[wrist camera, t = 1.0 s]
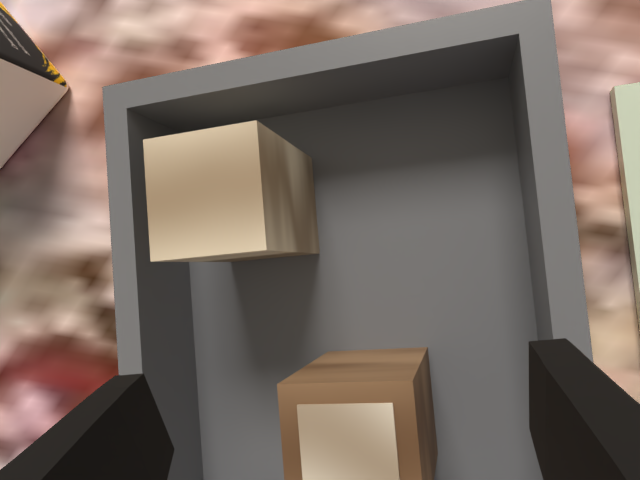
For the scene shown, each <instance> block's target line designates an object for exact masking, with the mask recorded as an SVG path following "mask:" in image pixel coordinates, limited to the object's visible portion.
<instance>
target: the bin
mask: <svg viewBox="0 0 640 480" xmlns="http://www.w3.org/2000/svg"><path fill="white" fill-rule="evenodd" d="M102 88H103V106H104V123H105V141H106V158H107V176H108V193H109V211H110V228H111V246H112V263H113V281H114V298H115V316H116V333H117V351H118V368H119V375H130V374H142V373H144V375H145V378H146V380H147V383H148V385H149V388H150V390H151V392H152V395H153V397H154V400H155V402H156V405H157V407H158V410H159V412H160V414H161V417H162V419H163V422H164V424H165V427H166V429H167V432H168V434H169V437H170V439H171V441H172V444H173V446H174V449H175V450H174V454H173V458H172V462H171V466H170V470H169V474H168V478H167V480H284V469H283V456H282V443H281V430H280V417H279V404H278V391H277V384H278V383H280V382H281V381H283V380H284V379H286V378H288V377H289V376H291V375H292V374H294V373H295V372H297V371H298V370H300V369H302V368H303V367H305V366H306V365H308V364H309V363H311V362H312V361H314V360H316V359H317V358H319V357H320V356H322V355H323V354H325V353H326V352H329V351H352V350H374V349H397V348H419V347H428V355H429V366H430V376H431V387H432V397H433V407H434V418H435V428H436V438H437V449H438V455H437V462H436V469H435V476H434V480H543V477H542V473H541V470H540V466H539V463H538V459H537V456H536V452H535V448H534V444H533V441H532V437H531V433H530V429H529V341H538V340H550V339H562V338H566V339H567V340H569V341H570V342H571V343H572V344H573V345H575V346H576V347H577V348H578V349H579V350H580V351H581V352H582V353H583V354H584V355H585V356H586V357H588V358H589V359H590V360H591V361H592V362H593V356H592V347H591V339H590V330H589V322H588V313H587V305H586V296H585V288H584V279H583V271H582V262H581V254H580V245H579V237H578V228H577V220H576V211H575V202H574V194H573V185H572V177H571V168H570V160H569V151H568V143H567V134H566V126H565V117H564V109H563V100H562V92H561V83H560V75H559V66H558V57H557V49H556V40H555V32H554V23H553V15H552V6H551V0H524V1H519V2H514V3H509V4H505V5H500V6H495V7H490V8H485V9H480V10H475V11H470V12H466V13H461V14H456V15H451V16H446V17H441V18H436V19H431V20H426V21H422V22H417V23H412V24H407V25H402V26H397V27H392V28H387V29H383V30H378V31H373V32H368V33H363V34H358V35H353V36H348V37H344V38H339V39H334V40H329V41H324V42H319V43H314V44H309V45H305V46H300V47H295V48H290V49H285V50H280V51H275V52H270V53H265V54H261V55H256V56H251V57H246V58H241V59H236V60H231V61H226V62H222V63H217V64H212V65H207V66H202V67H197V68H192V69H187V70H183V71H178V72H173V73H168V74H163V75H158V76H153V77H148V78H144V79H139V80H134V81H129V82H124V83H119V84H114V85H109V86H104V87H102ZM255 120H257V121H258V122H260V123H261V124H263V125H264V126H266V127H267V128H269V129H270V130H272V131H273V132H274V133H276V134H277V135H279V136H280V137H282V138H283V139H285V140H286V141H288V142H289V143H291V144H292V145H293V146H295V147H296V148H298V149H299V150H301V151H302V152H304V153H305V154H307V155H308V156H310V157H311V158H312V167H313V179H314V191H315V203H316V215H317V227H318V239H319V251H320V254H310V255H299V256H289V257H278V258H268V259H258V260H247V261H237V262H151V261H150V245H149V229H148V213H147V197H146V181H145V164H144V148H143V140H144V139H150V138H155V137H161V136H167V135H173V134H179V133H185V132H191V131H197V130H202V129H208V128H214V127H220V126H226V125H232V124H238V123H244V122H249V121H255Z"/></svg>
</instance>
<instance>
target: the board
mask: <svg viewBox="0 0 640 480" xmlns="http://www.w3.org/2000/svg"><path fill="white" fill-rule="evenodd" d="M610 97H611V106H612V114H613V122H614V130H615V138H616V146H617V154H618V162H619V170H620V178H621V186H622V195H623V203H624V211H625V219H626V227H627V235H628V243H629V251H630V259H631V267H632V276H633V284H634V292H635V300H636V308H637V316H638V324H639V332H640V82H639V83H632V84H626V85H620V86H614V87H613V88H612V90H611V91H610Z"/></svg>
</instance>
